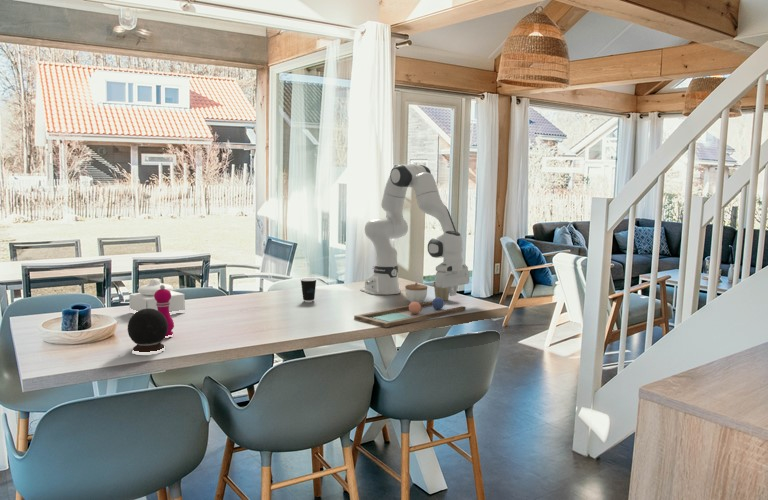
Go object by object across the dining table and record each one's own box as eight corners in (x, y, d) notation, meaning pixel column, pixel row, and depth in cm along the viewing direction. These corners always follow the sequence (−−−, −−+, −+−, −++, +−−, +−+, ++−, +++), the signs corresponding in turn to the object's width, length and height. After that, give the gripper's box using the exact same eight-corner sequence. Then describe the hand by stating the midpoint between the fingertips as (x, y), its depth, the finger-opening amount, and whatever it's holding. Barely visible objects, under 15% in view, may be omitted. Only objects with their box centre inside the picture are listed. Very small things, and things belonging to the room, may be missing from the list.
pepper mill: (157, 335, 243) (155, 283, 241) (176, 334, 244) (174, 283, 242) (152, 339, 236) (149, 286, 234) (171, 339, 237) (169, 286, 234)
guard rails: (354, 319, 270) (354, 315, 270) (433, 303, 303) (433, 300, 303) (385, 327, 255) (385, 323, 255) (465, 310, 288) (465, 306, 288)
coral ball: (406, 313, 281) (406, 301, 280) (414, 312, 284) (414, 300, 284) (414, 315, 276) (414, 303, 276) (423, 314, 280) (423, 301, 280)
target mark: (372, 317, 273) (372, 317, 273) (395, 313, 282) (395, 312, 282) (394, 323, 262) (394, 322, 262) (418, 318, 272) (418, 317, 272)
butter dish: (167, 307, 295) (165, 273, 293) (185, 313, 282) (184, 278, 280) (129, 313, 283) (128, 278, 281) (147, 319, 270) (145, 283, 268)
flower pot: (451, 298, 317) (451, 281, 316) (451, 301, 308) (451, 284, 307) (432, 297, 318) (432, 280, 317) (432, 301, 308) (432, 284, 307)
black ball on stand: (140, 358, 212) (138, 314, 210) (121, 351, 220) (119, 309, 219) (176, 350, 221) (174, 308, 220) (157, 344, 230) (155, 303, 228)
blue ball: (429, 309, 291) (429, 297, 290) (437, 307, 294) (437, 295, 294) (438, 311, 286) (438, 299, 286) (446, 309, 290) (446, 297, 290)
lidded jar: (431, 301, 308) (432, 282, 307) (417, 305, 300) (417, 285, 299) (415, 298, 315) (415, 280, 314) (400, 302, 307) (400, 282, 306)
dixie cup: (306, 299, 314) (306, 277, 313) (320, 300, 311) (319, 278, 309) (297, 302, 307) (297, 279, 306) (311, 303, 303) (310, 280, 302)
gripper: (462, 263, 304) (462, 292, 305) (433, 267, 290) (433, 297, 291) (472, 264, 299) (472, 293, 300) (443, 268, 285) (443, 299, 287)
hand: (452, 295), depth 296 cm, fingers closed
